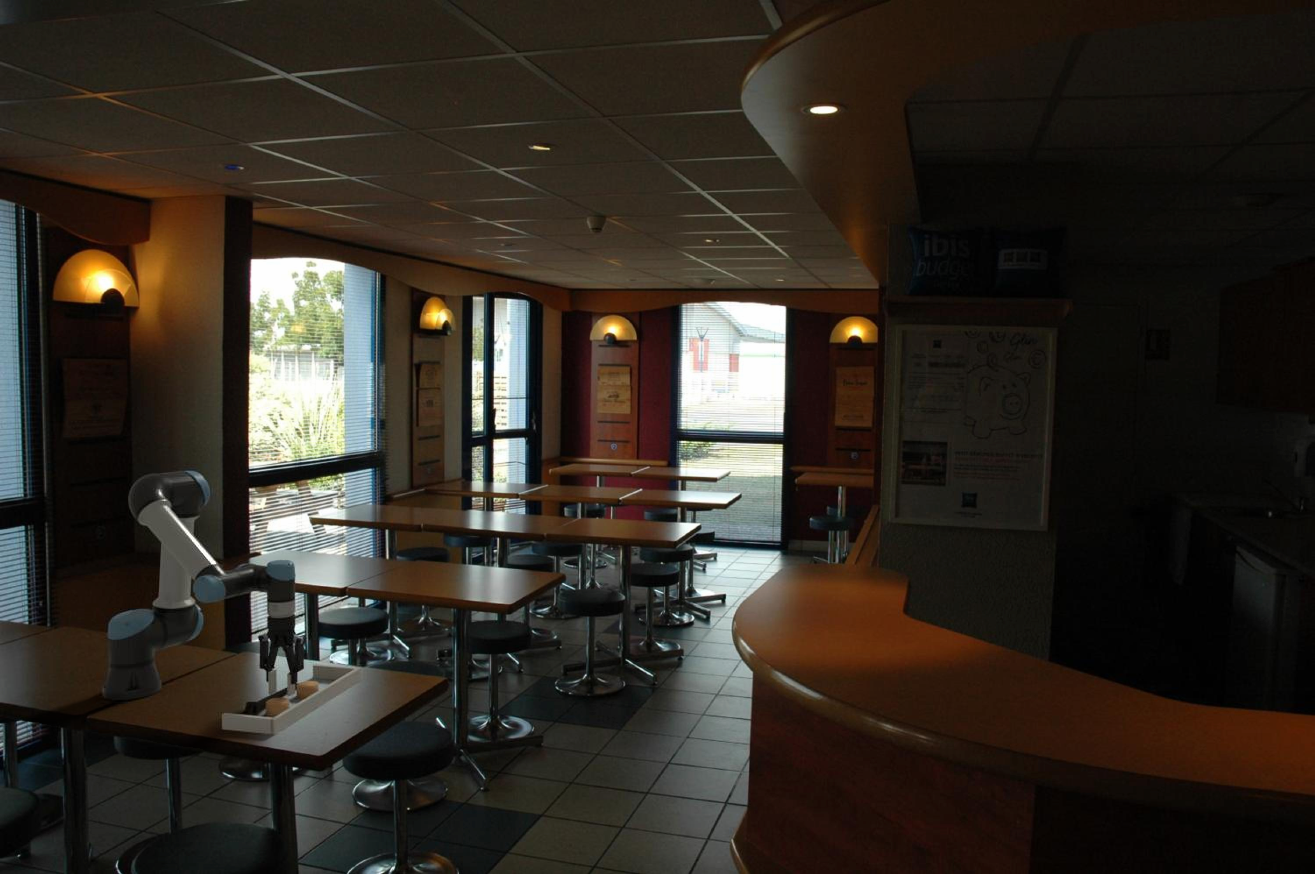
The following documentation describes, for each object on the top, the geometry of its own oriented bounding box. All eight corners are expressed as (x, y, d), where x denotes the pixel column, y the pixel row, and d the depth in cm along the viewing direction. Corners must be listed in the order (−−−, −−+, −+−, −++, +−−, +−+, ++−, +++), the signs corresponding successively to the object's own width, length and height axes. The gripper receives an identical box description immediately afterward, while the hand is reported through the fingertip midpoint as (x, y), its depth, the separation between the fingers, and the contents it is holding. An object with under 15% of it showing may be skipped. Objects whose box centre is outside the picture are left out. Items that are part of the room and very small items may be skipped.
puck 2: (292, 696, 266) (292, 684, 265) (310, 691, 270) (310, 679, 270) (304, 700, 262) (304, 689, 262) (322, 695, 267) (322, 683, 267)
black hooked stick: (310, 694, 273) (257, 724, 243) (294, 694, 274) (239, 724, 244) (310, 677, 273) (256, 705, 243) (294, 677, 274) (238, 705, 244)
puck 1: (261, 715, 250) (261, 703, 250) (276, 708, 256) (276, 696, 256) (278, 718, 248) (278, 706, 248) (294, 711, 254) (293, 699, 254)
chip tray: (222, 729, 240) (221, 714, 240) (315, 676, 283) (315, 664, 283) (274, 734, 237) (274, 719, 237) (360, 680, 280) (360, 667, 280)
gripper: (244, 615, 257) (245, 695, 259) (302, 620, 254) (303, 700, 255) (260, 609, 265) (261, 686, 266) (317, 613, 261) (318, 692, 263)
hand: (281, 693), depth 261 cm, fingers open, 5 cm apart
